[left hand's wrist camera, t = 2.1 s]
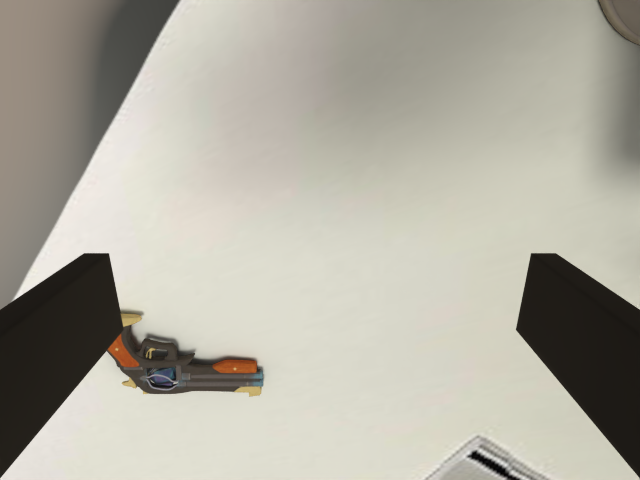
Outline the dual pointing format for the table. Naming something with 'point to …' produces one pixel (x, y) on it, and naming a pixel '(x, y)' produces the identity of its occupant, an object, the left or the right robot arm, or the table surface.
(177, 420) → the table surface
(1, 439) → the left robot arm
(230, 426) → the table surface
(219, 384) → the toy gun
